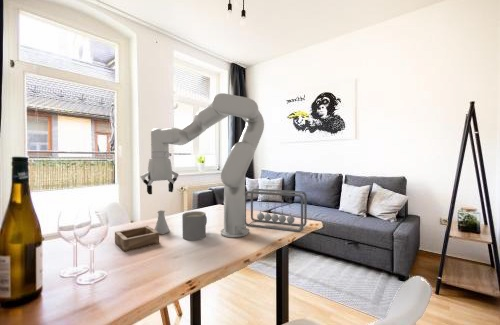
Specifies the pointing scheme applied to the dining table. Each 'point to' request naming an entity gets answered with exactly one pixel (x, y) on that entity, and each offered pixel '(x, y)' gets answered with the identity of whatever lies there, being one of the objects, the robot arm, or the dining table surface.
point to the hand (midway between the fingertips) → (160, 192)
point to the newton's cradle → (275, 217)
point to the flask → (161, 223)
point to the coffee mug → (194, 225)
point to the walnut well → (136, 238)
